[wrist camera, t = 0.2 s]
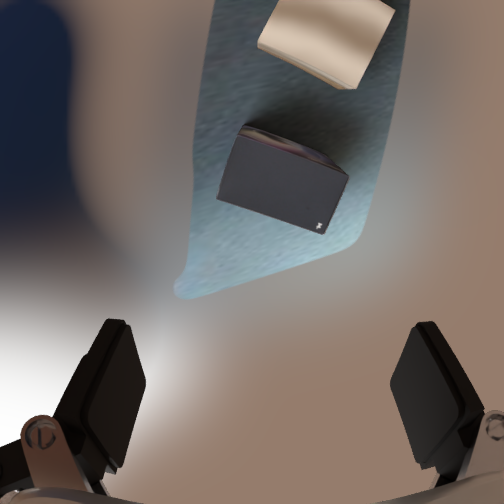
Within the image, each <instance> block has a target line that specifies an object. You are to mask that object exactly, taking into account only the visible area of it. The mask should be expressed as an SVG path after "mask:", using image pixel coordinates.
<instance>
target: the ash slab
mask: <svg viewBox="0 0 504 504" xmlns="http://www.w3.org/2000/svg"><path fill="white" fill-rule="evenodd" d="M394 12H395V10H394V9H392V8H391V7H389V6H388V5H386V4H384V3H383V2H381V1H379V0H279V2H278V4H277V5H276V7H275V9H274V11H273V13H272V15H271V17H270V18H269V20H268V22H267V24H266V26H265V28H264V30H263V32H262V34H261V36H260V38H259V40H258V47H260V48H262V49H265V50H267V51H270V52H272V53H274V54H277V55H279V56H281V57H283V58H286V59H288V60H290V61H292V62H294V63H297V64H299V65H301V66H303V67H305V68H307V69H309V70H311V71H313V72H315V73H317V74H319V75H321V76H323V77H325V78H327V79H329V80H331V81H333V82H334V83H336V84H338V85H340V86H342V87H344V88H345V89H356V88H357V86H358V84H359V82H360V80H361V78H362V76H363V74H364V72H365V70H366V68H367V66H368V64H369V62H370V60H371V58H372V56H373V54H374V52H375V50H376V48H377V46H378V44H379V42H380V40H381V38H382V36H383V34H384V32H385V30H386V28H387V26H388V24H389V22H390V20H391V18H392V16H393V14H394Z"/></svg>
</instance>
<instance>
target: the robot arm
mask: <svg viewBox="0 0 504 504" xmlns="http://www.w3.org/2000/svg"><path fill="white" fill-rule="evenodd" d="M145 387H146V379H145V375H144V372H143V369H142V366H141V362H140V359H139V355H138V352H137V348H136V345H135V341H134V338H133V334H132V330H131V327H130V326H129V325H126V323H125V321H124V320H120V319H106V321H105V322H104V324H103V326H102V328H101V329H100V331H99V333H98V335H97V337H96V338H95V340H94V342H93V344H92V346H91V348H90V350H89V351H88V353H87V354H86V355H84V356H83V358H82V359H81V361H80V363H79V364H78V366H77V369H76V370H75V372H74V374H73V376H72V378H71V380H70V382H69V384H68V386H67V388H66V390H65V392H64V394H63V396H62V398H61V400H60V402H59V404H58V406H57V408H56V410H55V413H54V415H53V417H50V416H48V415H38V416H35V417H33V418H31V419H29V420H28V421H27V422H26V423H25V424H24V426H23V428H22V430H21V434H20V436H21V439H19V440H16V441H14V442H11V443H9V444H7V445H4V446H2V447H0V504H142V503H137V502H131V501H127V500H122V499H118V498H113V497H111V496H110V495H109V493H108V491H107V489H106V487H105V485H104V483H103V482H102V479H103V476H104V473H105V472H107V473H112V474H116V472H117V468H121V467H122V466H123V463H124V460H125V456H126V452H127V448H128V445H129V441H130V438H131V434H132V431H133V428H134V424H135V420H136V417H137V414H138V410H139V407H140V403H141V400H142V397H143V394H144V391H145ZM390 387H391V390H392V393H393V396H394V399H395V401H396V404H397V407H398V410H399V413H400V416H401V418H402V421H403V424H404V427H405V430H406V433H407V436H408V439H409V442H410V445H411V448H412V452H413V455H414V458H415V460H416V462H417V463H420V466H421V469H422V470H423V469H427V468H431V467H434V466H435V467H436V470H437V473H436V475H435V477H434V479H433V482H432V484H431V486H430V488H429V490H426V491H423V492H419V493H415V494H412V495H408V496H404V497H400V498H396V499H392V500H387V501H382V502H377V503H372V504H504V412H502V411H498V410H492V411H489V412H487V413H486V414H485V413H484V411H483V410H484V409H485V408H484V406H483V404H482V402H481V400H480V399H479V397H478V395H477V393H476V391H475V389H474V387H473V386H472V384H471V382H470V380H469V378H468V377H467V375H466V373H465V371H464V370H463V368H462V366H461V364H460V363H459V361H458V359H457V358H456V356H455V354H454V353H453V351H452V349H451V348H450V346H449V344H448V343H447V341H446V340H445V338H444V336H443V335H442V333H441V332H440V330H439V329H438V327H437V325H436V324H435V323H434V322H433V321H428V322H418V323H417V324H416V326H415V327H413V328H412V329H411V331H410V334H409V337H408V339H407V342H406V344H405V347H404V349H403V352H402V354H401V357H400V359H399V362H398V364H397V366H396V368H395V371H394V373H393V375H392V377H391V381H390Z"/></svg>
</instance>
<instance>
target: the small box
mask: <svg viewBox="0 0 504 504" xmlns="http://www.w3.org/2000/svg"><path fill="white" fill-rule="evenodd" d="M349 178H350V176H349V175H347V174H346V173H345V172H344V171H343V170H342V169H341V168H340V167H339V166H337V165H336V164H335V163H334V162H333V161H332V160H331V159H330V158H329V157H328V156H327V155H325V154H323V153H321V152H318V151H316V150H314V149H311V148H309V147H306V146H304V145H301V144H299V143H296V142H293V141H291V140H288V139H285V138H283V137H280V136H277V135H274V134H271V133H268V132H266V131H263V130H260V129H256V128H253V127H250V126H246V125H243V126H242V128H241V130H240V131H239V133H238V134H237V136H236V138H235V140H234V143H233V146H232V148H231V152H230V154H229V157H228V160H227V163H226V166H225V170H224V173H223V176H222V179H221V182H220V185H219V189H218V192H217V195H216V199H217V200H220V201H223V202H226V203H229V204H232V205H235V206H238V207H241V208H245V209H248V210H250V211H254V212H257V213H260V214H262V215H265V216H268V217H271V218H274V219H277V220H280V221H284V222H286V223H289V224H292V225H295V226H298V227H301V228H304V229H307V230H309V231H312V232H315V233H318V234H321V235H324V234H325V233H326V230H327V228H328V226H329V223H330V221H331V219H332V217H333V215H334V213H335V210H336V208H337V206H338V204H339V201H340V199H341V197H342V195H343V192H344V190H345V188H346V185H347V183H348V181H349Z"/></svg>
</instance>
